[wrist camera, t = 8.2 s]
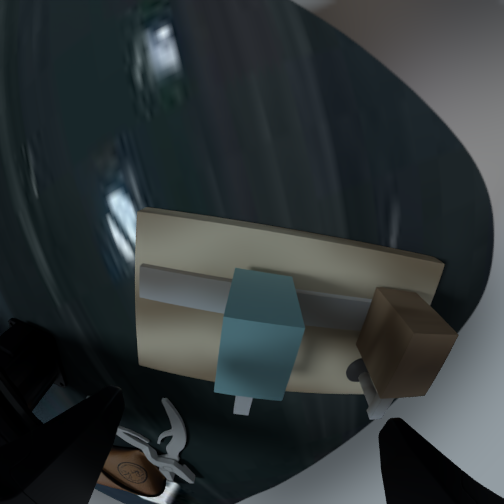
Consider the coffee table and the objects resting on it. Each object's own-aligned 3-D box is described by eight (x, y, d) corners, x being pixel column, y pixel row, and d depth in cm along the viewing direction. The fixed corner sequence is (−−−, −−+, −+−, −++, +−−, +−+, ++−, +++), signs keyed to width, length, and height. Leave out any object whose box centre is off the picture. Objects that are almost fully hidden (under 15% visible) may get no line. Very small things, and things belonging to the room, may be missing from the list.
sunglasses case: (140, 449, 24) (140, 501, 19) (166, 453, 29) (167, 497, 24) (38, 424, 25) (35, 465, 21) (69, 435, 30) (67, 471, 26)
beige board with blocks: (381, 381, 20) (409, 444, 13) (145, 353, 20) (110, 418, 13) (433, 256, 17) (496, 300, 10) (147, 207, 16) (83, 235, 10)
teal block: (267, 375, 17) (268, 436, 12) (220, 369, 17) (209, 429, 12) (292, 276, 15) (305, 328, 10) (235, 267, 15) (223, 316, 10)
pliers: (166, 407, 20) (219, 484, 24) (170, 395, 21) (221, 474, 26) (80, 402, 21) (146, 478, 25) (87, 393, 22) (149, 469, 27)
